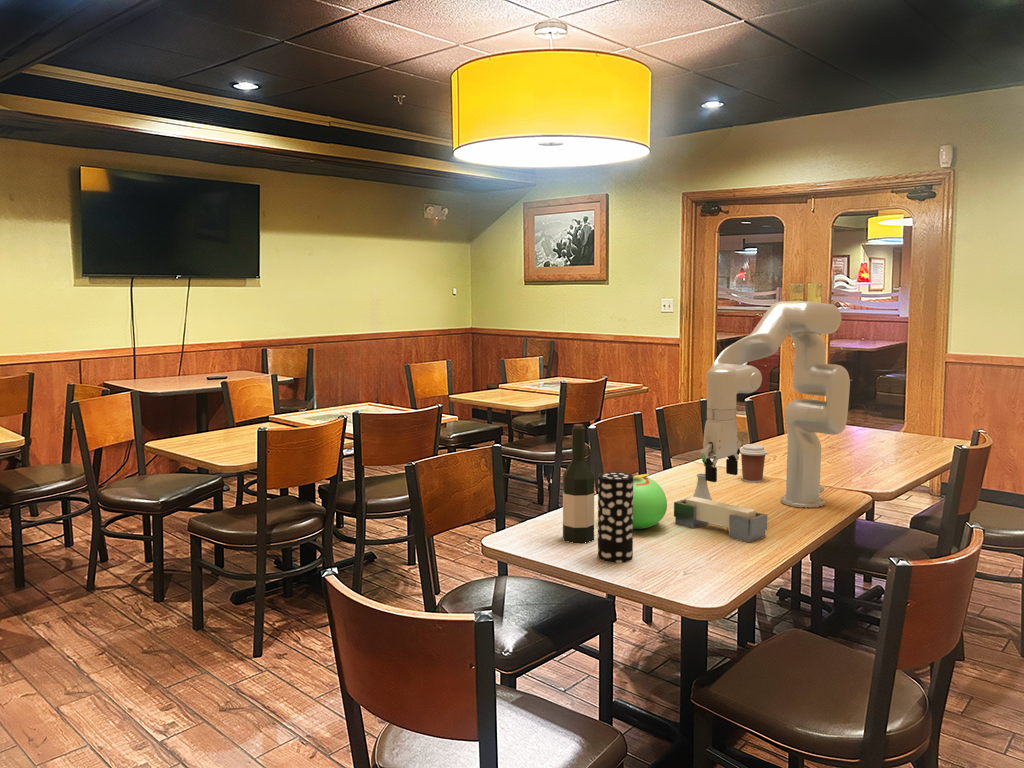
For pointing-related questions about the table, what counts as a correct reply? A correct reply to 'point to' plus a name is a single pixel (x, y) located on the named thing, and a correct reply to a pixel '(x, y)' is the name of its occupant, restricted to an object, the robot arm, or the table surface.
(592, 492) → the wine bottle
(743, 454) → the coffee cup
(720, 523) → the rail
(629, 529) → the white-spotted black cylinder
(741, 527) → the bracket
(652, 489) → the toy bird
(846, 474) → the table surface
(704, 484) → the flask
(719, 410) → the robot arm
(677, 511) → the bracket
